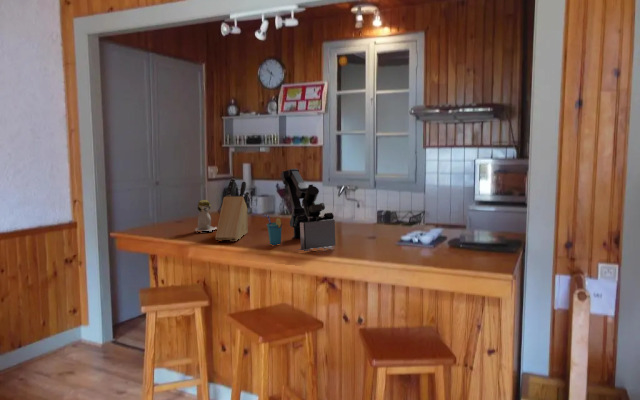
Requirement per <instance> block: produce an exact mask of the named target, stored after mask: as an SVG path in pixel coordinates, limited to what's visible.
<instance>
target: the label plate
mask: <svg viewBox="0 0 640 400" xmlns="http://www.w3.org/2000/svg"><path fill="white" fill-rule="evenodd" d="M322 248H324V249H326V248H328V249H331V250H334V249H333V248H335V247H334V246H328V247H322ZM317 249H319V248H317Z"/></svg>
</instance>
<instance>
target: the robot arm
mask: <svg viewBox="0 0 640 400" xmlns="http://www.w3.org/2000/svg"><path fill="white" fill-rule="evenodd" d="M280 178H281V180H282V184H283V185H284V186H285V187H287V192H288V195H289V199H290V203H291V207H292V213H291V215H290V216H291V218H290V220H289V226H290V227H291V228H293V236H292V239H296V240H297V239H300V240H301V238H300V223H301V222H310V221H319V220H328V219H335V218H334V217H335V216H334V213H333V212H325V213H324V214H323V215H321V212H322V211H324V210H325V208H326V206H325V203H324V202H320V203H318V204H317V203H315V202H316V201H317V199H318V198H317V197H318V195H319V193H320V191H319V188H318V187H317V186H315V185H314V184H307V183H306V182H305V181H304V179H303V177H302V175H301V174H300V171H299V169H298V168H290V169H287V170H283V171H282V172H281V173H280Z"/></svg>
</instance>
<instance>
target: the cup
mask: <svg viewBox="0 0 640 400" xmlns="http://www.w3.org/2000/svg"><path fill="white" fill-rule="evenodd" d="M261 216H262V217H263V218H264V217H267V220H268V223H266V227H267V233H268V240H269V245H270V244H272V245H277V244H280V243H281V244H282V229H283V228H282V227H283V223H282V219H281V218H280V217H277V218H276V219H275V221H274V222H272V221H271V218H270V215H269V214H263V215H261Z"/></svg>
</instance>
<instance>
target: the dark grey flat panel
mask: <svg viewBox="0 0 640 400" xmlns="http://www.w3.org/2000/svg"><path fill="white" fill-rule="evenodd" d="M335 223H336V221H335V218H333V219H328V220H319V221H310V222H301V223H300V238H301V239H300V249H301V250H305V249H308V250H309V249H313V248H321V247H328V246H332V247H334V246H336V224H335Z"/></svg>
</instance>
